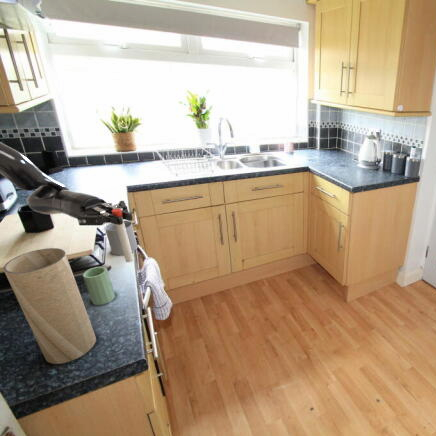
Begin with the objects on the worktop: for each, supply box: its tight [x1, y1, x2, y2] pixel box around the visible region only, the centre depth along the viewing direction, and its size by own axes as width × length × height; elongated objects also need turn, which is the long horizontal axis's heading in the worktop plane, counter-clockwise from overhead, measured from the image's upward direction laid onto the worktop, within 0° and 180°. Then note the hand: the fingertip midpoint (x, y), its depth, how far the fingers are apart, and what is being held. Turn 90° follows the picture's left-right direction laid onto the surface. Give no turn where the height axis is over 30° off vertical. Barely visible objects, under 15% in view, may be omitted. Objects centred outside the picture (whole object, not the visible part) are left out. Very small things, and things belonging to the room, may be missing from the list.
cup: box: [104, 220, 139, 256], centre depth 117 cm, size 8×8×10 cm
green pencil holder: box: [82, 266, 116, 306], centre depth 92 cm, size 6×6×10 cm
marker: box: [112, 209, 135, 263], centre depth 89 cm, size 2×2×16 cm
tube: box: [3, 247, 97, 365], centre depth 72 cm, size 10×10×25 cm
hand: (125, 218), depth 85 cm, fingers closed on marker, 2 cm apart
